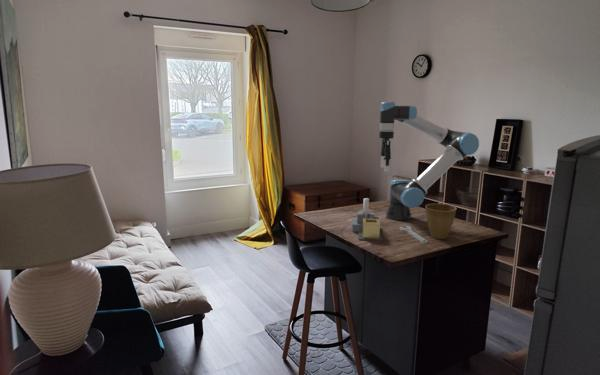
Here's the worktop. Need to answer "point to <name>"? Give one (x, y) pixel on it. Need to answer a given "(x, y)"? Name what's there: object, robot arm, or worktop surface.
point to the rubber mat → (370, 238)
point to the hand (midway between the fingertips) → (384, 169)
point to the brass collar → (371, 228)
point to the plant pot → (440, 219)
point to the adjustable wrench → (413, 234)
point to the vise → (358, 222)
